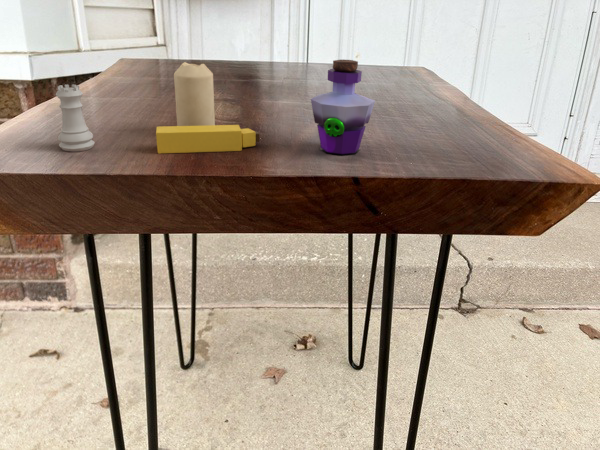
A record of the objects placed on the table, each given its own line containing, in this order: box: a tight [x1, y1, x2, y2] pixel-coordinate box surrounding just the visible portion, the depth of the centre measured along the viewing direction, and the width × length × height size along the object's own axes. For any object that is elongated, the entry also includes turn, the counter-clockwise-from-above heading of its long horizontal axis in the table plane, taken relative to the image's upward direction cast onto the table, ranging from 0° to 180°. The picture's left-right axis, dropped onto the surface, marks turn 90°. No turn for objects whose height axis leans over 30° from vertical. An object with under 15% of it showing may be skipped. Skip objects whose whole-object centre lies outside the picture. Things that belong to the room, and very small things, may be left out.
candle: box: [173, 61, 216, 126], centre depth 77 cm, size 6×6×10 cm
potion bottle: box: [310, 59, 376, 157], centre depth 71 cm, size 9×9×12 cm
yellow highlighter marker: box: [155, 124, 260, 155], centre depth 71 cm, size 14×4×3 cm, turn 102°
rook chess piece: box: [55, 84, 96, 153], centre depth 68 cm, size 4×4×8 cm
